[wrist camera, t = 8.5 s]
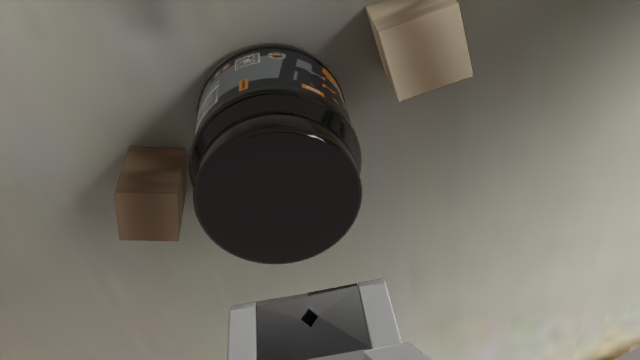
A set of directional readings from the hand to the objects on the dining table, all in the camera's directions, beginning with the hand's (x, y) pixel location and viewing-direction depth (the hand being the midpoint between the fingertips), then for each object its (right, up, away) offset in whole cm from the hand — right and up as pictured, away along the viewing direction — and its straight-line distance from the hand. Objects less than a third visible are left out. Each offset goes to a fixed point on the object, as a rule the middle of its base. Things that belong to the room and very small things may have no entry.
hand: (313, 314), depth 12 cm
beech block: (+6, +13, +29) cm, 33 cm away
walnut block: (-12, +3, +34) cm, 36 cm away
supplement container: (-3, +8, +32) cm, 33 cm away
